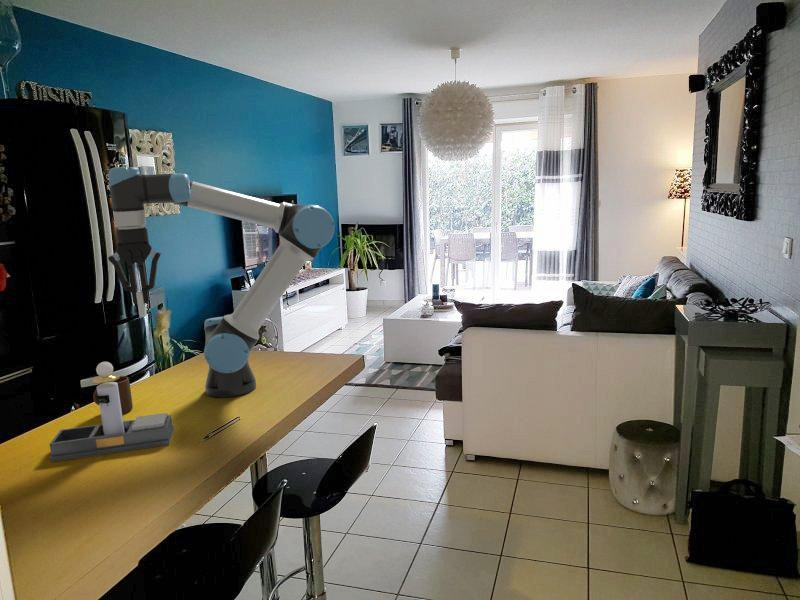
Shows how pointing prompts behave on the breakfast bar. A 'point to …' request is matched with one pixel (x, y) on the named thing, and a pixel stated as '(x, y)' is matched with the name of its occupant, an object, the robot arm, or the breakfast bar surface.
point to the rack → (112, 438)
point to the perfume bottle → (109, 399)
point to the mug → (122, 394)
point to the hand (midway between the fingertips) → (143, 315)
